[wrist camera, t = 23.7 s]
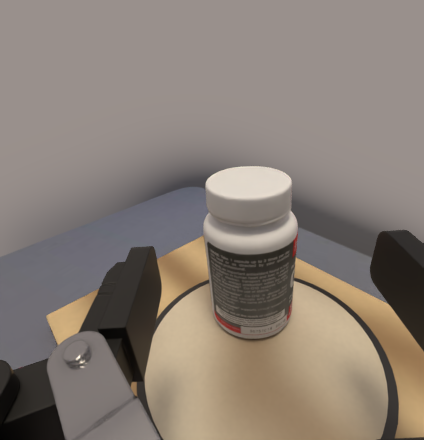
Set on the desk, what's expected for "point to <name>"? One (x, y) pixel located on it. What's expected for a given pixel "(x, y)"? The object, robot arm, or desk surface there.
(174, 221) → the desk surface
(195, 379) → the tan flat wooden board
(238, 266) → the pill bottle
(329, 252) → the desk surface
